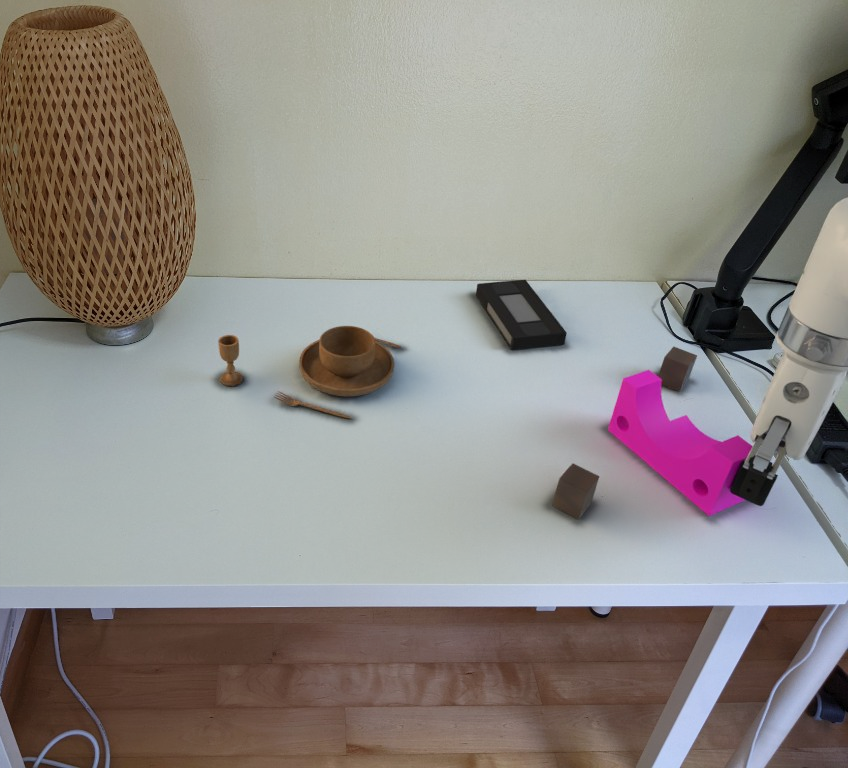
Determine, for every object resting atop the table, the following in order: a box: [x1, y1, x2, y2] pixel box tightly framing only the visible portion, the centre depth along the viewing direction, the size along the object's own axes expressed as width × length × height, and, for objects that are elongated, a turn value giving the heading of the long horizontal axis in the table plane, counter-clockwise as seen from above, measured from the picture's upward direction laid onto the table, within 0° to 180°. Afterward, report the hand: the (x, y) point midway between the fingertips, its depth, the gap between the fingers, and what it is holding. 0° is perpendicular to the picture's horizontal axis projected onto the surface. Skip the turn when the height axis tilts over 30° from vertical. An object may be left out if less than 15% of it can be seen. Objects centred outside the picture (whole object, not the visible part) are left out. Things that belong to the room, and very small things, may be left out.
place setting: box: [217, 325, 402, 420], centre depth 97 cm, size 18×20×6 cm
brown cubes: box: [551, 346, 698, 520], centre depth 88 cm, size 3×31×4 cm, turn 140°
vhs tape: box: [475, 279, 568, 351], centre depth 108 cm, size 8×14×2 cm, turn 11°
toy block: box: [607, 369, 753, 517], centre depth 84 cm, size 15×6×8 cm, turn 27°
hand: (761, 472), depth 80 cm, fingers open, 9 cm apart
